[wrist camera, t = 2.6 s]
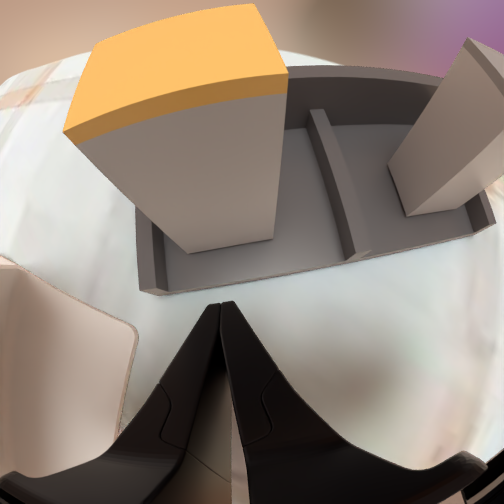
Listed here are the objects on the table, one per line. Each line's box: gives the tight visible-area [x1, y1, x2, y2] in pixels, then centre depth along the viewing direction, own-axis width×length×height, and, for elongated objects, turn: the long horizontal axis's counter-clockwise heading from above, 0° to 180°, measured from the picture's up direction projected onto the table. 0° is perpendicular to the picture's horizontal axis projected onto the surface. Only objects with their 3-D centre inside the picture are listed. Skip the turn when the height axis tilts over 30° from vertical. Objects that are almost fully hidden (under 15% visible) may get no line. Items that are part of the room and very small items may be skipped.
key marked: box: [63, 3, 289, 254], centre depth 11 cm, size 4×5×12 cm
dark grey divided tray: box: [135, 65, 496, 296], centre depth 15 cm, size 11×24×7 cm, turn 100°
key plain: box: [387, 37, 504, 216], centre depth 11 cm, size 4×5×12 cm
